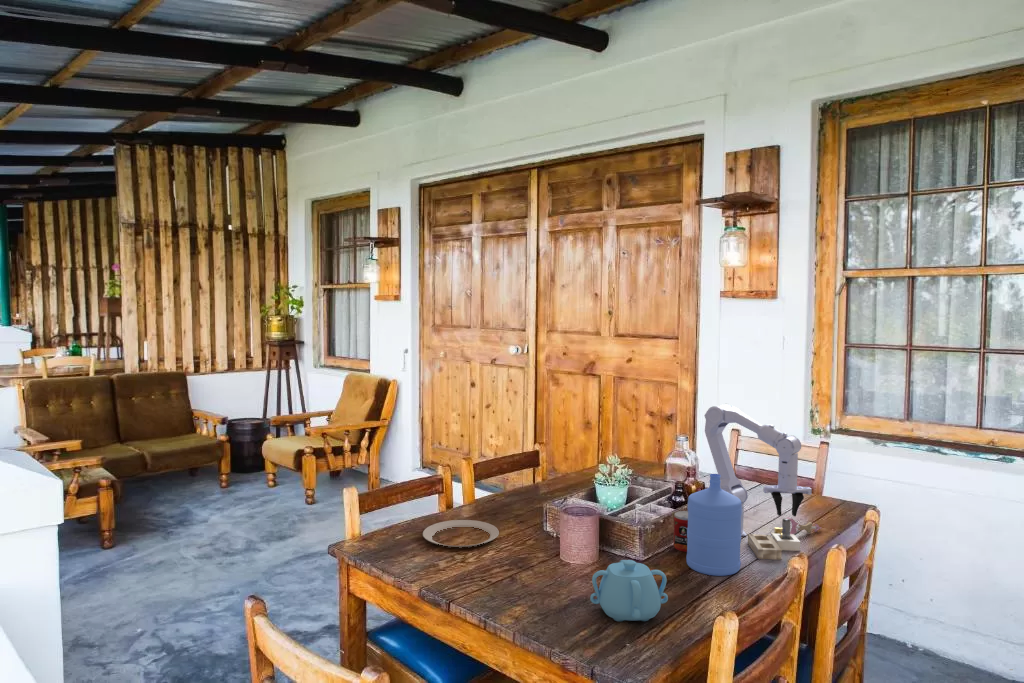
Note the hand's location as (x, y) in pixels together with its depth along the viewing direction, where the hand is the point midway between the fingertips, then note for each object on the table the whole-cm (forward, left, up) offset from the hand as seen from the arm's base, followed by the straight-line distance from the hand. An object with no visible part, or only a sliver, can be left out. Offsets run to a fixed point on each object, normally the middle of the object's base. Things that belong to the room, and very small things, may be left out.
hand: (786, 515), depth 225 cm
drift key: (0, +5, -10) cm, 11 cm away
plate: (-107, -4, -11) cm, 107 cm away
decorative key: (+9, +12, -10) cm, 18 cm away
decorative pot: (-54, -54, -11) cm, 77 cm away
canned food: (-33, -5, -11) cm, 35 cm away
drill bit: (0, 0, -10) cm, 10 cm away
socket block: (0, +4, -10) cm, 11 cm away
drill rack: (-8, -5, -10) cm, 14 cm away
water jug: (-27, -20, -11) cm, 35 cm away
